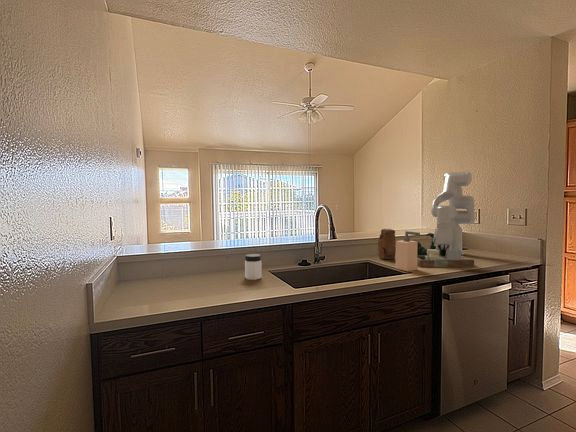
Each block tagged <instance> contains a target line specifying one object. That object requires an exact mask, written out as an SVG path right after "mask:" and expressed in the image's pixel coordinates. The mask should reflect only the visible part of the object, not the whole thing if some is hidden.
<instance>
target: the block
mask: <svg viewBox="0 0 576 432" xmlns="http://www.w3.org/2000/svg"><path fill="white" fill-rule="evenodd" d="M396 241H397V240H396V231H395V230H394V229H391V228H382V229H380V235H379V236H378V241H377V253H378V254H377V255H378V257H379V259H380V260H393V259H396Z"/></svg>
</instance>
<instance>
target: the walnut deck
mask: <svg viewBox="0 0 576 432" xmlns="http://www.w3.org/2000/svg"><path fill="white" fill-rule="evenodd" d="M417 267H419V268H431V267H432V268H435V267H436V268H442V267H443V268H445V267H446V268H448V267H452V268H455V267H459V268H460V267H462V268H463V267H464V268H465V267H475V259H473V258H470V257H467V256H463V255H461V260H446V256H439V259H430V258H428V257H427V256H417Z"/></svg>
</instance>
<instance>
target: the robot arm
mask: <svg viewBox="0 0 576 432" xmlns="http://www.w3.org/2000/svg"><path fill="white" fill-rule="evenodd" d="M443 180H444V181H443V185H442V192H441V193H439V194H438V195H437V196H435V199H434V200H433V201H432V205H431V210H430V211H431V215H432V217H434V218H436V228H435V229H434V232H433V234H434V240H432V241H433V242H434V246H436V247H438V248H439V249H440V255H441V256H445V255H446V250H447V248H448V247H450V250H461V256H463V255H465V252H464V251H463V233H464V232H463V231H464V230H463V228H462V227H461V225H471V224H473V223H474V222H475V199H474V197H473V196H472V195H463V187H468V186H469V185H470V184H471V183H472V180H473V175H472V172H470V171H453V172H446V173H444V175H443ZM446 201H448V205H441V203H443V202H446ZM461 209H462V210H461ZM460 224H461V225H460Z"/></svg>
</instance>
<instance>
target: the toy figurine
mask: <svg viewBox="0 0 576 432" xmlns="http://www.w3.org/2000/svg"><path fill="white" fill-rule="evenodd" d="M425 236H426V237H428V236H429V237H430V238H432V239H431V240H432V241H431V242H430V243H431V245H430V246H429V247H430V248H425V247H424V246H422V244H421V243H420V241H417V240H416V241H417V242H418V245H417V256H427V249H436V246H434V242H433V240H434V232H433V233H432V232H428V233H427V234H426V235H425Z"/></svg>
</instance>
